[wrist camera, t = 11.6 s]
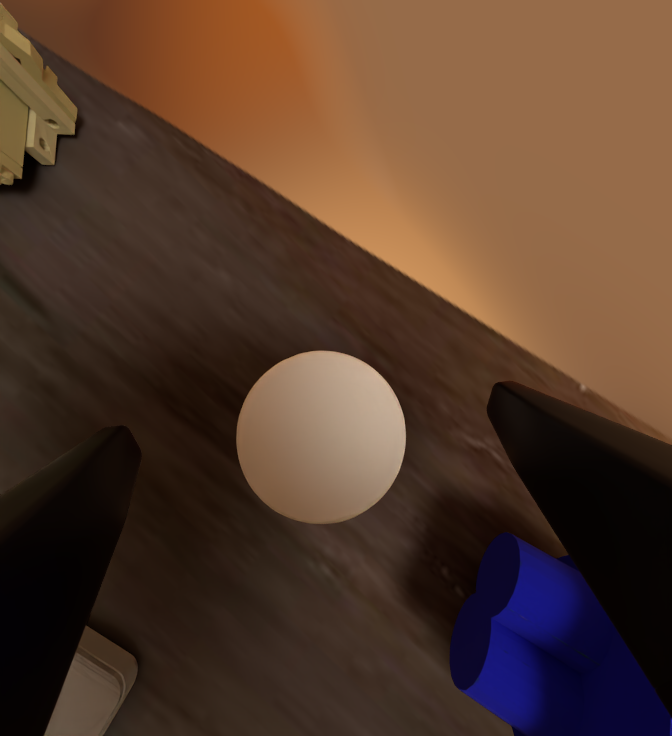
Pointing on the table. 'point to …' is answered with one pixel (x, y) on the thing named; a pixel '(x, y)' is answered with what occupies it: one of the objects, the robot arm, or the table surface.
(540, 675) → the multicoloured flanged rounded cylinder
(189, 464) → the table surface
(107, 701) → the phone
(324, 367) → the pill bottle
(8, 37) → the mechanical component
